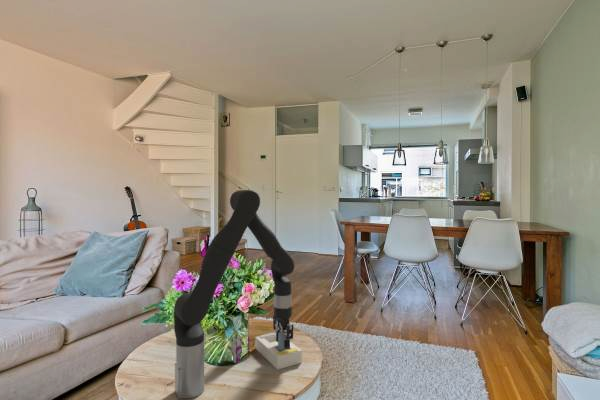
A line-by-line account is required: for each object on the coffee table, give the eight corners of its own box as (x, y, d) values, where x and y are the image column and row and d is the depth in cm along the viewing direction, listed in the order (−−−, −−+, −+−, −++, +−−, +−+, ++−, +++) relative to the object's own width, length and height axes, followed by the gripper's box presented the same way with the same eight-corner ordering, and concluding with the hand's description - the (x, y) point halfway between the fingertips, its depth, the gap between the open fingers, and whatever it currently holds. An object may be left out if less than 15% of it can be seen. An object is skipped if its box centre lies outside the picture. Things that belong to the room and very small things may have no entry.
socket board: (277, 369, 131) (277, 356, 131) (255, 348, 150) (255, 336, 150) (301, 362, 137) (301, 349, 137) (277, 342, 156) (277, 331, 156)
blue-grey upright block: (280, 360, 136) (280, 335, 136) (276, 356, 140) (276, 332, 140) (289, 358, 138) (289, 333, 138) (284, 354, 142) (285, 330, 142)
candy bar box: (239, 350, 148) (239, 313, 148) (249, 352, 146) (249, 314, 146) (225, 362, 137) (225, 321, 137) (236, 364, 136) (236, 323, 136)
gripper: (267, 301, 143) (267, 340, 143) (282, 311, 131) (282, 353, 131) (282, 298, 147) (282, 336, 147) (299, 308, 135) (299, 349, 135)
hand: (282, 344), depth 139 cm, fingers open, 7 cm apart
